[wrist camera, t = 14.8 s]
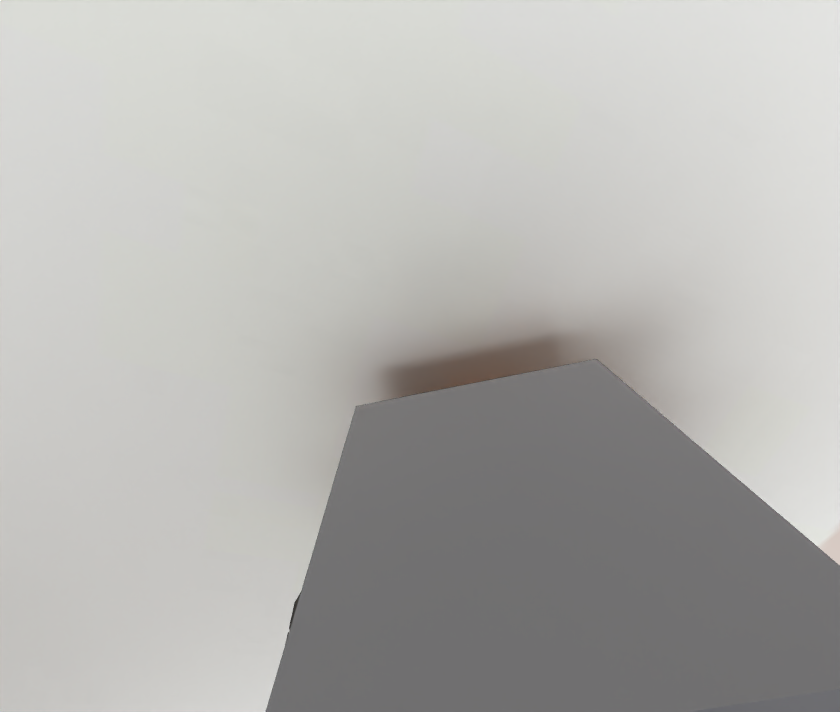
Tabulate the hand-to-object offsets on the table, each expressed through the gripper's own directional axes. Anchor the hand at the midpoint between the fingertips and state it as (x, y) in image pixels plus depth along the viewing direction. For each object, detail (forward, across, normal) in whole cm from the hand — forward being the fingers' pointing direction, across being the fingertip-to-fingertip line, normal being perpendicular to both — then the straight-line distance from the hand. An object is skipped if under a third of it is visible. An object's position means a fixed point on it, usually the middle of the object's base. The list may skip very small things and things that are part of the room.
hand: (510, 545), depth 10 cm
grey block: (+3, 0, +1) cm, 3 cm away
